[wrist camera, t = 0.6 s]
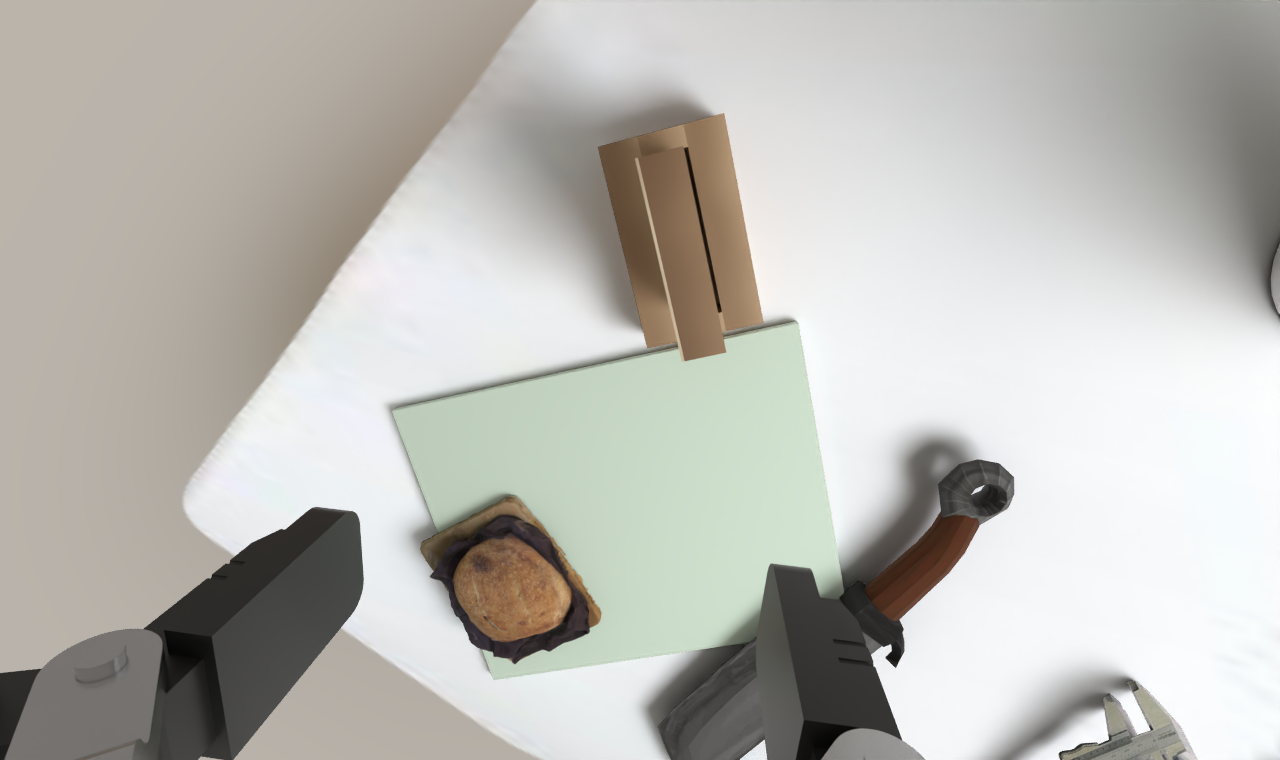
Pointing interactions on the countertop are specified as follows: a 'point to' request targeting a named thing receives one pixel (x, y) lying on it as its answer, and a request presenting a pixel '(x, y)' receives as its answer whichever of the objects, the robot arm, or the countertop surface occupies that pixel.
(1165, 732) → the caliper
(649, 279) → the stand
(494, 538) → the bread roll
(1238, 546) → the countertop surface
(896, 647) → the knife
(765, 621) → the robot arm
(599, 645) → the mat
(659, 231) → the board
